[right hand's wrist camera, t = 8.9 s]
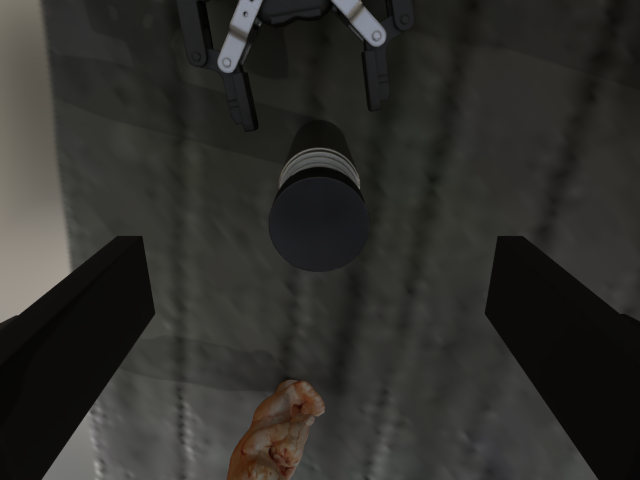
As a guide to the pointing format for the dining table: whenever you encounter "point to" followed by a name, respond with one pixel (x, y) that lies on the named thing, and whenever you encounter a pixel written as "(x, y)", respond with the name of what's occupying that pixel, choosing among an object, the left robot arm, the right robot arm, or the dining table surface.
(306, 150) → the bottle
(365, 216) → the cap
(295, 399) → the orange-brown lumpy piece
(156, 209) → the dining table surface
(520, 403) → the dining table surface
